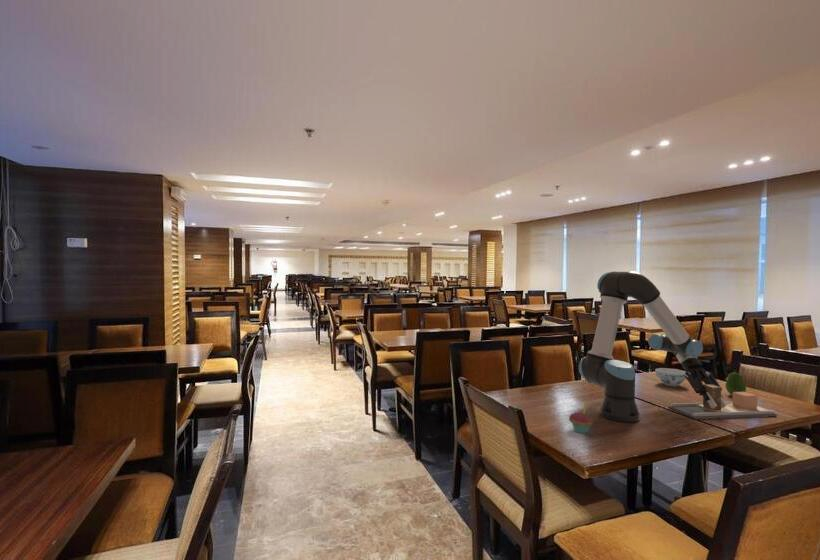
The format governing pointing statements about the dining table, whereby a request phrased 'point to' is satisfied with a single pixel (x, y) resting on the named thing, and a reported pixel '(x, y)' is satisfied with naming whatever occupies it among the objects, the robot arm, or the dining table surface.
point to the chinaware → (670, 376)
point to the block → (744, 400)
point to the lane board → (700, 413)
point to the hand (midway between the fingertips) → (719, 406)
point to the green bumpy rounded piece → (735, 383)
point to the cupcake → (581, 421)
